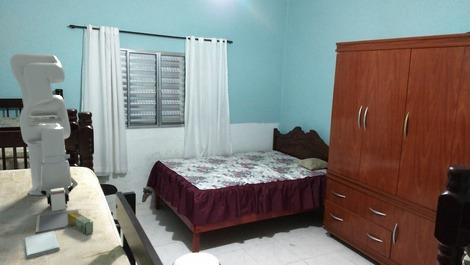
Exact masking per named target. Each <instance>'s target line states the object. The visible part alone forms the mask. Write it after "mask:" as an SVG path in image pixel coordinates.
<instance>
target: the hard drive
mask: <svg viewBox="0 0 470 265" xmlns="http://www.w3.org/2000/svg"><path fill="white" fill-rule="evenodd" d="M23 241H24V245H25V254H26V258H27V259H31V258H35V257H39V256H42V255H47V254H50V253H54V252H57V251H60V250H61V247H60V245H59V242H58V239H57V236H56V234H55V230H53V231H48V232H43V233H38V234H35V235H31V236H26V237H24V240H23Z"/></svg>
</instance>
